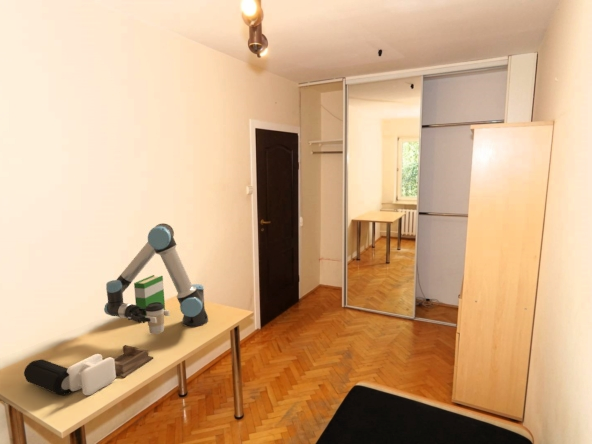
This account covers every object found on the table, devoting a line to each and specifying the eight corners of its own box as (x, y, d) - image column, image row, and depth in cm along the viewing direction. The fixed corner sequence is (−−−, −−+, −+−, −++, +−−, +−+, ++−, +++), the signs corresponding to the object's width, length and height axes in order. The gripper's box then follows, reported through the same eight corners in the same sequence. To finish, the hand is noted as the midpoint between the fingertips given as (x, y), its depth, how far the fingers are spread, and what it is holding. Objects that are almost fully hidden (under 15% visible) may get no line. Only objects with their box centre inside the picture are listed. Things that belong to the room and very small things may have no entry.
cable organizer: (83, 400, 149) (80, 373, 147) (68, 393, 153) (65, 367, 152) (116, 381, 162) (114, 356, 160) (101, 375, 167) (99, 351, 165)
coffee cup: (147, 329, 194) (144, 302, 192) (165, 326, 197) (163, 299, 195) (147, 336, 186) (145, 308, 183) (166, 332, 189) (164, 305, 187)
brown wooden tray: (97, 370, 170) (96, 360, 169) (128, 352, 187) (127, 343, 186) (123, 378, 164) (122, 367, 163) (153, 358, 180) (152, 349, 180)
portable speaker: (82, 388, 157) (80, 366, 155) (59, 401, 148) (56, 378, 146) (46, 374, 168) (44, 354, 166) (23, 386, 159) (20, 364, 158)
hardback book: (155, 309, 244) (153, 275, 241) (165, 310, 242) (162, 275, 239) (137, 320, 228) (134, 283, 224) (147, 321, 225) (144, 284, 222)
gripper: (145, 310, 207) (177, 315, 199) (113, 325, 188) (147, 332, 179) (144, 298, 206) (176, 302, 198) (112, 312, 187) (146, 317, 178)
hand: (162, 316), depth 188 cm, fingers closed on coffee cup, 9 cm apart
